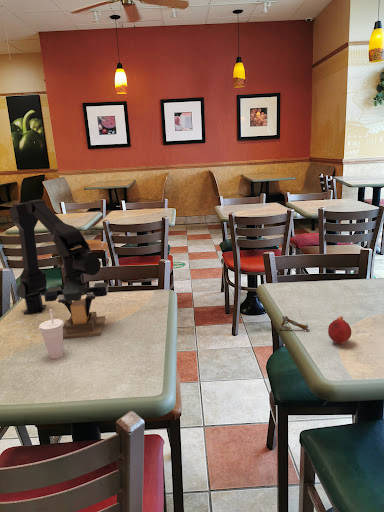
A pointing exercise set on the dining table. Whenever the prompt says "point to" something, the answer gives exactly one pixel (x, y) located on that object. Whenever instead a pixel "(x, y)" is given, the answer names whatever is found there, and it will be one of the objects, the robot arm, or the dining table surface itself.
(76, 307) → the tan rectangular block
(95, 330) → the chassis
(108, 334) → the dining table surface
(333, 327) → the onion
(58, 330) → the smoothie
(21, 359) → the dining table surface
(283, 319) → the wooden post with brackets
